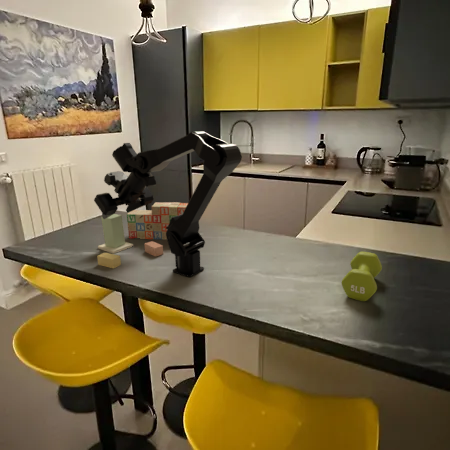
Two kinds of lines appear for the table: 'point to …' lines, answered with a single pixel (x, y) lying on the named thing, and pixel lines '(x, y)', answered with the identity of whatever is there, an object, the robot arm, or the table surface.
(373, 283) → the dumbbell
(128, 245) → the cream square slab
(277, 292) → the table surface
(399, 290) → the table surface
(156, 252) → the terracotta brick
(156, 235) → the stack of blocks
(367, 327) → the table surface
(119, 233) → the sage brick
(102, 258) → the ochre brick
